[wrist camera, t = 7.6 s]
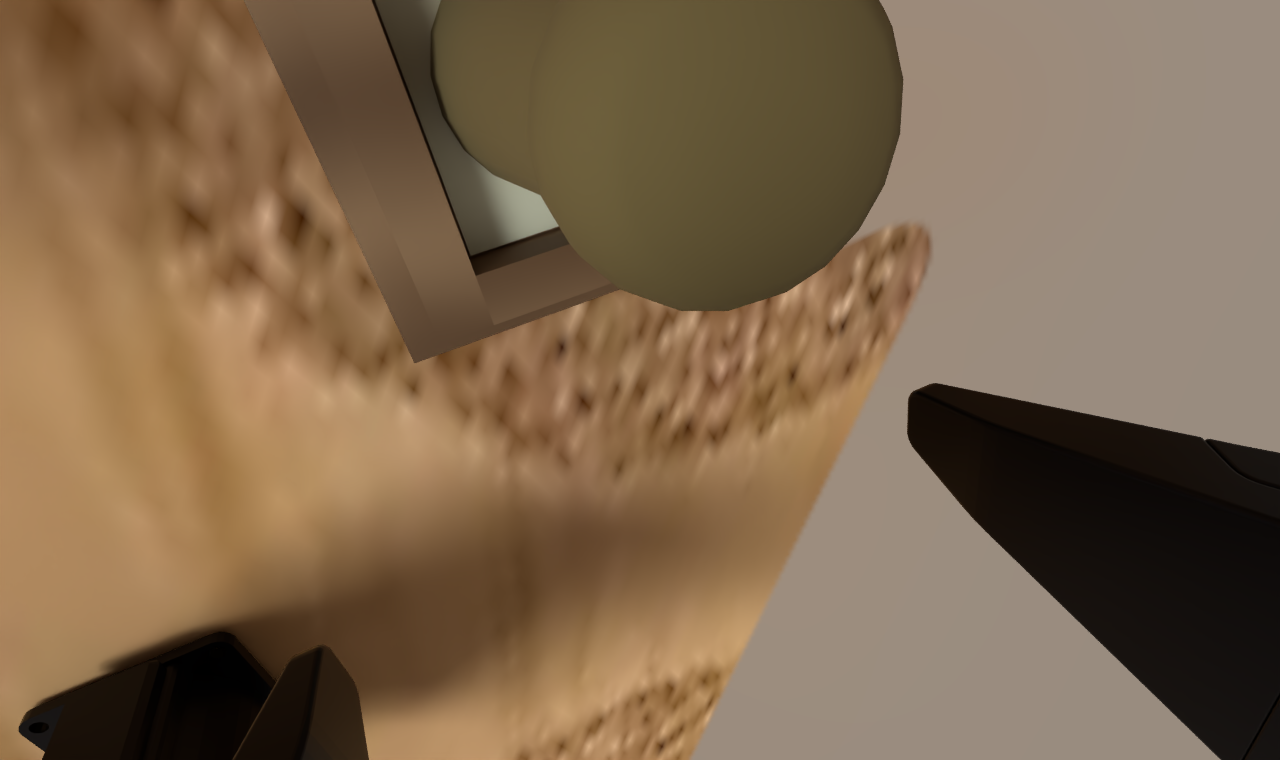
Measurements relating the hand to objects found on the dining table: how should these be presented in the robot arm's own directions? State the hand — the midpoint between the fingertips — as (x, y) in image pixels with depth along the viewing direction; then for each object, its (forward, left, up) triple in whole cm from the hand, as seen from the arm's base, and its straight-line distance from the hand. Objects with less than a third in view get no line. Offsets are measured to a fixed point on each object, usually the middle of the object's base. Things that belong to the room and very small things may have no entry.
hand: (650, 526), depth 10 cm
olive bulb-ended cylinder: (+5, -3, -12) cm, 13 cm away
